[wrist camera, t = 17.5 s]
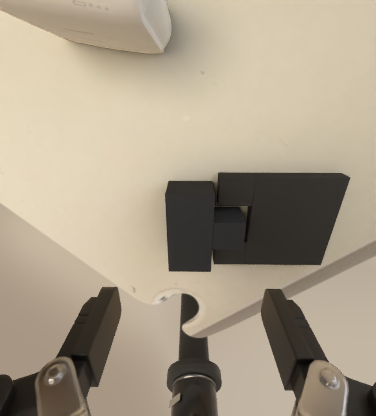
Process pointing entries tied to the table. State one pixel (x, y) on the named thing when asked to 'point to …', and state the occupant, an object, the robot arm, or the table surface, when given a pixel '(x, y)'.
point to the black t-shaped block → (199, 226)
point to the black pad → (282, 215)
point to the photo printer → (100, 21)
